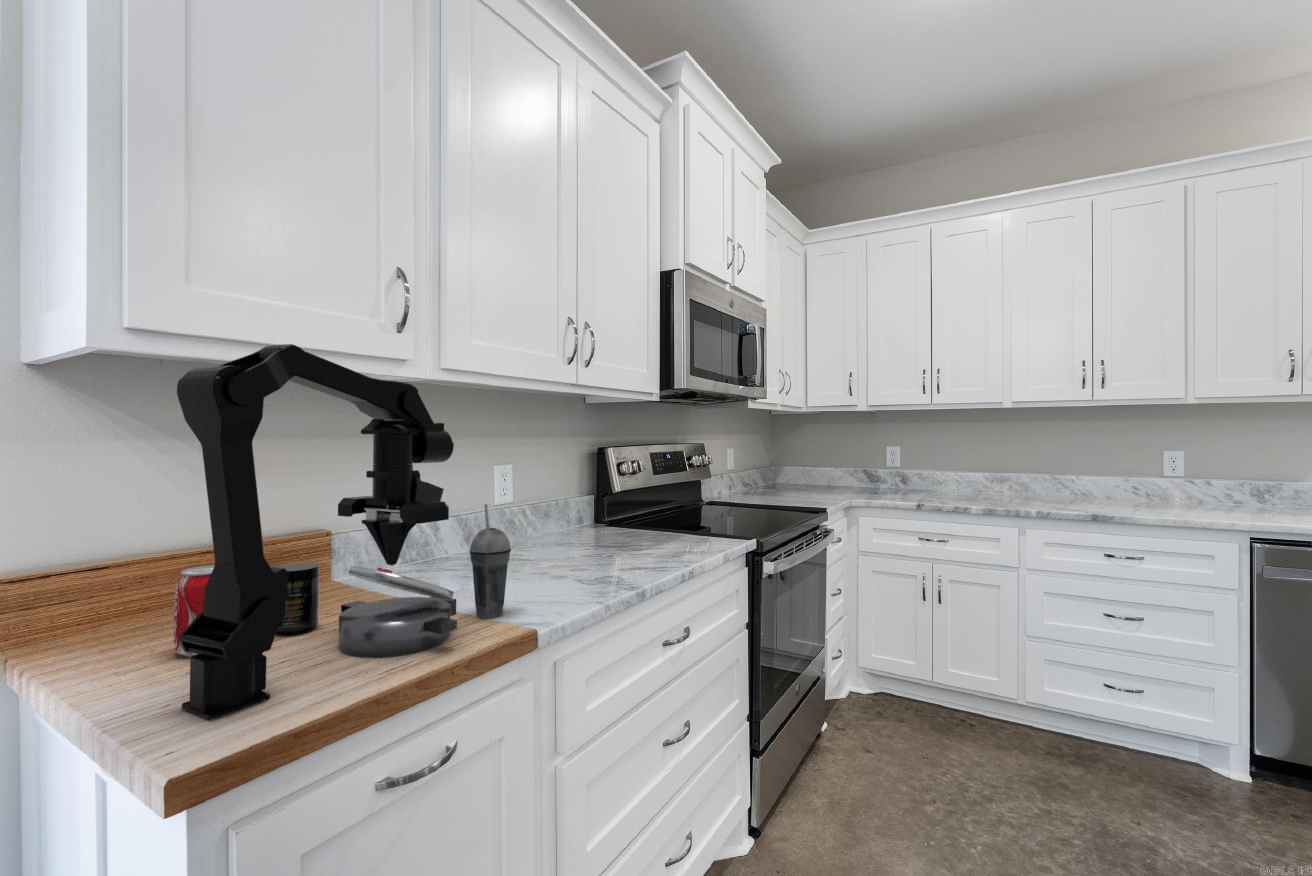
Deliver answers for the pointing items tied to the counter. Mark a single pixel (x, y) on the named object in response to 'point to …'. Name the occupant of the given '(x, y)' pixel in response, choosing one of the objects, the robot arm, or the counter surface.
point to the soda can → (189, 601)
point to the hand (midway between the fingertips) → (391, 564)
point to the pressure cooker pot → (395, 626)
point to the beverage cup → (489, 569)
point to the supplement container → (301, 599)
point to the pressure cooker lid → (400, 582)
